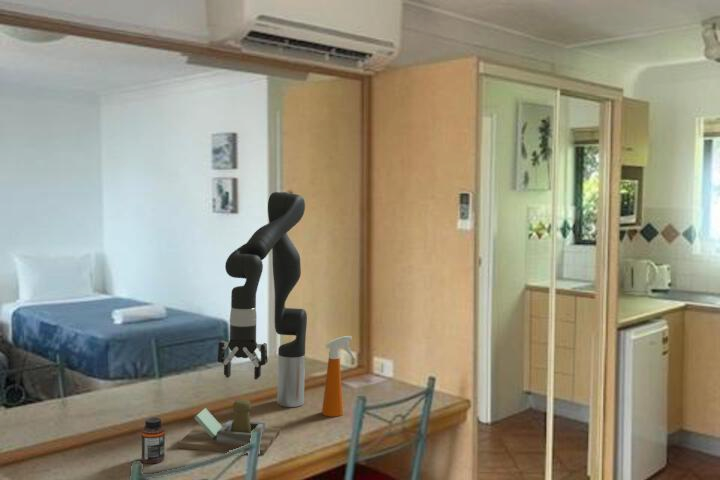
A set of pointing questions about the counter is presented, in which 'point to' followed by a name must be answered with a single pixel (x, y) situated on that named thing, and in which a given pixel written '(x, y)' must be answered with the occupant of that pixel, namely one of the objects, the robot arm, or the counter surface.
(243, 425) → the olive knobbed cylinder
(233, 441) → the holder board
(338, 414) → the spray bottle
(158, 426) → the supplement bottle
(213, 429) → the latch flap
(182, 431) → the counter surface
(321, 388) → the counter surface
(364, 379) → the counter surface
